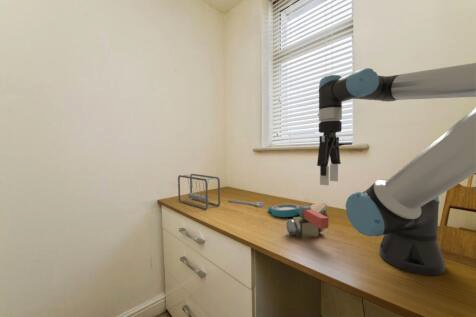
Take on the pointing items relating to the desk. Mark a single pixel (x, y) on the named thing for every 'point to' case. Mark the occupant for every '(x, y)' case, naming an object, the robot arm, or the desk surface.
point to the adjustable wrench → (248, 203)
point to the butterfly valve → (295, 209)
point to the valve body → (302, 228)
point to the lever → (313, 217)
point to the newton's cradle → (200, 197)
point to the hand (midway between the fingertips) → (329, 182)
